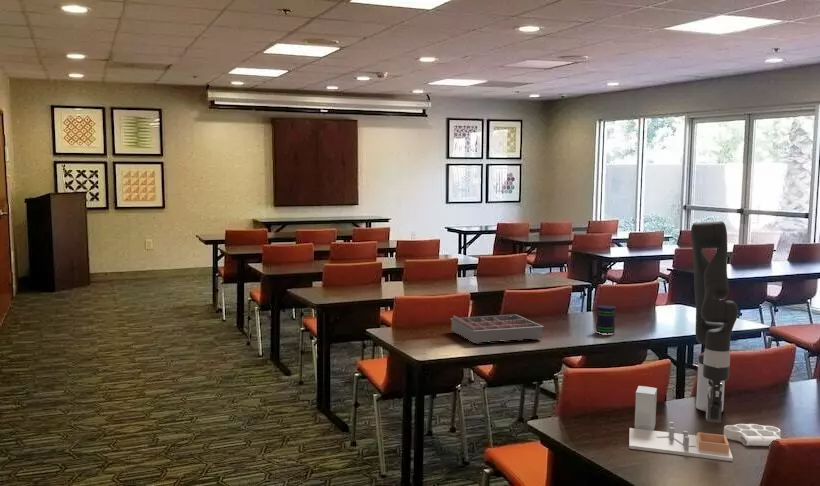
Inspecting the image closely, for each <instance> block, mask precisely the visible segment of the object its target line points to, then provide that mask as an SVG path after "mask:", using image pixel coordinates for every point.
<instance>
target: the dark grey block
mask: <svg viewBox="0 0 820 486" xmlns="http://www.w3.org/2000/svg"><path fill="white" fill-rule="evenodd" d="M714 403H718V402H717V401H714ZM710 404H711V399H710V398H709V396H707V405H706V412H705V419H706V422H710V423H719V424H720V423H722V412H723V411H722V399H721V407H720V408H719V415H718V419H711V417H710V416H711V406H710Z"/></svg>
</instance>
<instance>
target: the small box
mask: <svg viewBox="0 0 820 486" xmlns="http://www.w3.org/2000/svg"><path fill="white" fill-rule="evenodd" d="M657 392H658V388H657V387H651V386H645V385H638V386H637V389H636V391H635V403H634V404H635V405H634V406H635V407H634V428H635V429H643V430H652V431H655V428H656V421H657V418H656V417H657V416H656V415H657V414H656V412H657V395H658V393H657Z"/></svg>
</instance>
